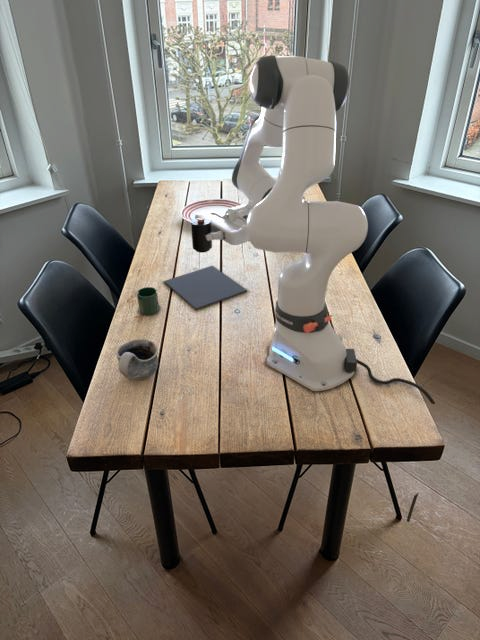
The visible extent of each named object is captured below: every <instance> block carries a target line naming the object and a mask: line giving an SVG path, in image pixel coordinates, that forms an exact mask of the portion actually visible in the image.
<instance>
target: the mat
mask: <svg viewBox="0 0 480 640" xmlns="http://www.w3.org/2000/svg"><path fill="white" fill-rule="evenodd" d="M163 282H164V284H165V285H166V286H168V287H169V289H171V290H172V291H173V292H175V293H176V295H178V296H179V297H180V298H182V300H184V301H185V302H186V303H187V304H189V305H190V306H191V307H192V308H193V309H194V310H195V311H197V310H200V309H203V308H206V307H208V306H211V305H214V304H217V303H219V302H222V301H225V300H228V299H231V298H233V297H236V296H239V295H241V294H244V293H246V292H248V291H247V289H246V288H244V287H243V286H242V285H241V284H239V283H238V282H236V281H235V280H233V279H232V278H230V277H229V276H227V275H226V274H225V273H224V272H222V271H221V270H219V269H218V268H216V267H214V265H210V266H207V267H204V268H201V269H197V270H195V271H191V272H188V273H185V274H182V275H179V276H176V277H173V278H169V279H166V280H164V281H163Z"/></svg>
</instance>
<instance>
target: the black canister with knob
mask: <svg viewBox="0 0 480 640" xmlns="http://www.w3.org/2000/svg"><path fill="white" fill-rule="evenodd" d="M190 231H191V242H192V243H191V245H192V249H193V250H194V251H195V252H197V253H202V254H203V253H208V252H209V251H211V249H212V248H213V240H210V241H208V240H206V239H205V236H204V235H205V233H209V232H210V233H212V232H211V220H210V219H208V218H196V219H193V220H192V221H191V222H190Z"/></svg>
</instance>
